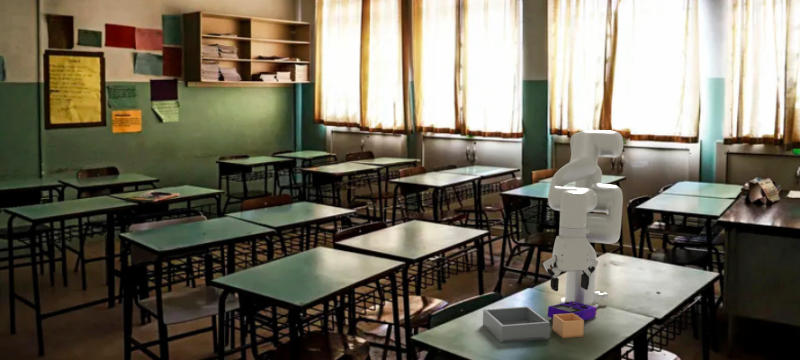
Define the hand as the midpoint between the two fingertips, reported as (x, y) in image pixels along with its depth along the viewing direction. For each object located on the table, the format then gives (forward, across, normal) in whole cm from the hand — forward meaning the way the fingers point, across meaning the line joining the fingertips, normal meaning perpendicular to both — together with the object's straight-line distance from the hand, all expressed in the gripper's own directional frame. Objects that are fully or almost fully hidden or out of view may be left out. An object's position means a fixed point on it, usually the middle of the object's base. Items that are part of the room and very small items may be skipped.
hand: (569, 289), depth 201 cm
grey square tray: (+14, +14, -5) cm, 21 cm away
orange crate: (+14, 0, -1) cm, 14 cm away
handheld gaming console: (+14, -8, -13) cm, 21 cm away
